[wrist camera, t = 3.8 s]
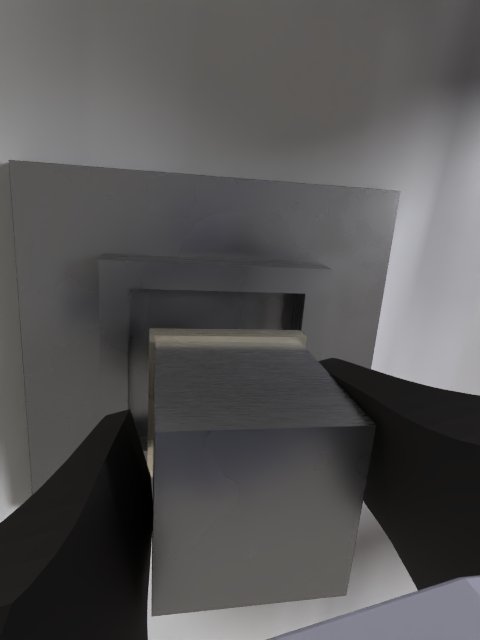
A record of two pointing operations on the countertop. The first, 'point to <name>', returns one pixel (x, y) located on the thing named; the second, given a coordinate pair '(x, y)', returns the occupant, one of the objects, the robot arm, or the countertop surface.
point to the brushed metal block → (250, 470)
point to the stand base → (178, 280)
